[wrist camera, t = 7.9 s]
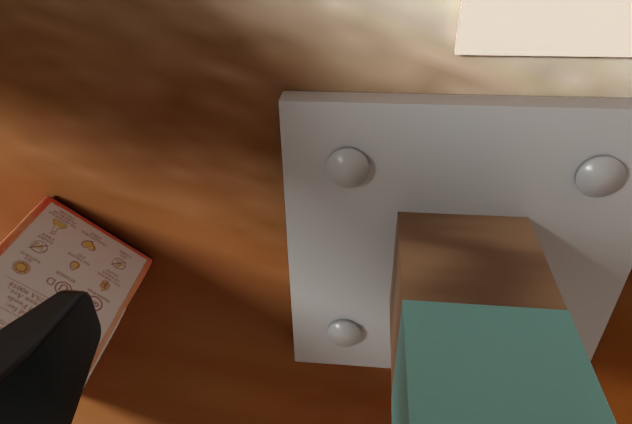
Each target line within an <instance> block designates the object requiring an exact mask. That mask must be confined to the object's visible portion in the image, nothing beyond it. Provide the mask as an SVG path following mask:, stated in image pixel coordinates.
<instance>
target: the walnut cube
mask: <svg viewBox="0 0 632 424" xmlns="http://www.w3.org/2000/svg"><path fill="white" fill-rule="evenodd" d="M403 300H414V301H430V302H446V303H461V304H477V305H493V306H509V307H524V308H540V309H556V310H567V307H566V305H565V303H564V300H563V298H562V296H561V293H560V291H559V289H558V286H557V284H556V281H555V279H554V277H553V274H552V272H551V270H550V267H549V265H548V262H547V260H546V258H545V255H544V253H543V251H542V248H541V246H540V244H539V241H538V239H537V236H536V234H535V232H534V229H533V227H532V225H531V222H530V220H529V217H510V216H487V215H463V214H440V213H417V212H398V213H397V224H396V236H395V247H394V258H393V269H392V281H391V292H390V347H391V392H392V387H393V378H394V369H395V361H396V352H397V344H398V335H399V327H400V318H401V309H402V301H403Z"/></svg>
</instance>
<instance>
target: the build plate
mask: <svg viewBox="0 0 632 424" xmlns="http://www.w3.org/2000/svg"><path fill="white" fill-rule="evenodd" d="M278 102H279V118H280V133H281V149H282V165H283V181H284V197H285V212H286V228H287V244H288V260H289V276H290V291H291V307H292V323H293V339H294V355H295V361H296V362H310V363H324V364H338V365H352V366H365V367H379V368H391V347H390V292H391V281H392V269H393V258H394V247H395V236H396V224H397V213H398V212H417V213H440V214H463V215H487V216H510V217H529V220H530V222H531V225H532V227H533V229H534V232H535V234H536V236H537V239H538V241H539V244H540V246H541V248H542V251H543V253H544V255H545V258H546V260H547V262H548V265H549V267H550V270H551V272H552V274H553V277H554V279H555V281H556V284H557V286H558V289H559V291H560V293H561V296H562V298H563V300H564V303H565V305H566V307H567V310H569V313H570V315H571V317H572V320H573V322H574V324H575V327H576V329H577V331H578V334H579V336H580V338H581V341H582V343H583V346H584V348H585V350H586V353H587V355H588V357H589V360H590V362H591V359H592V357H593V355H594V353H595V350H596V348H597V346H598V343H599V341H600V339H601V337H602V334H603V332H604V330H605V328H606V325H607V323H608V321H609V318H610V316H611V314H612V312H613V309H614V307H615V305H616V303H617V300H618V298H619V296H620V294H621V291H622V289H623V287H624V284H625V282H626V280H627V278H628V275H629V273H630V271H631V269H632V98H606V97H558V96H510V95H462V94H415V93H367V92H319V91H283V92H282V94H281V96H280V99H279V101H278Z"/></svg>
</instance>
